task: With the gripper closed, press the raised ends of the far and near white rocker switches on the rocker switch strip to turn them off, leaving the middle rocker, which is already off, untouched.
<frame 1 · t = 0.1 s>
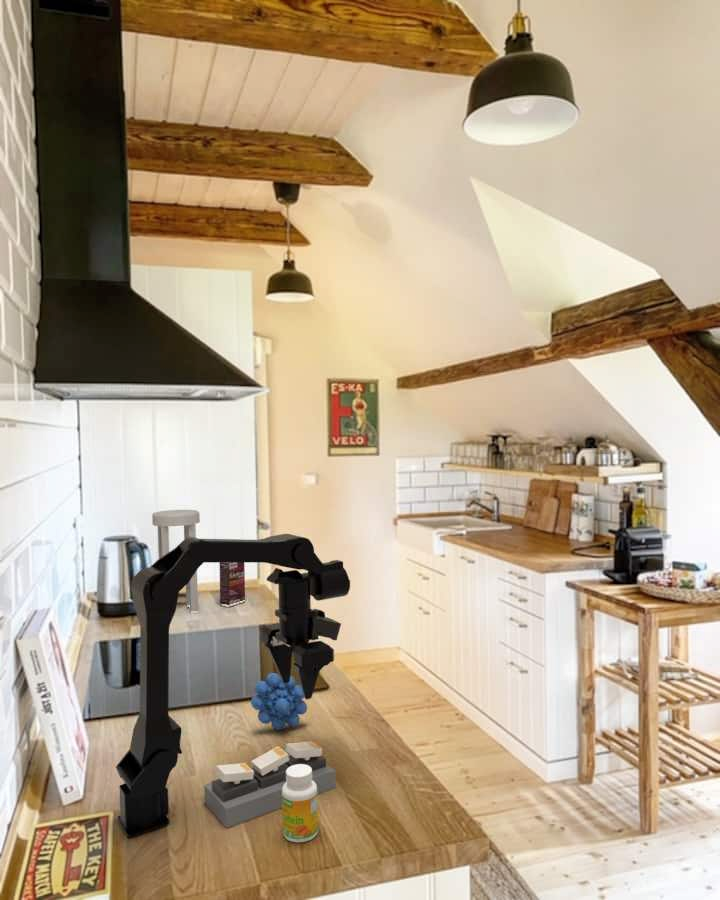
hand: (297, 690, 123), 15 cm above the countertop, tool pointing down, fingers open, 9 cm apart
far rocker: (303, 751, 119), point 6 cm above the countertop, hinge at 12.0°
rocker switch strip: (271, 795, 115), on the countertop
middle rocker: (270, 761, 115), point 6 cm above the countertop, hinge at -12.0°
stool: (179, 612, 238), on the countertop
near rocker: (234, 773, 111), point 6 cm above the countertop, hinge at 12.0°
supplement box: (233, 605, 247), on the countertop
supplement bottle: (300, 834, 104), on the countertop
grapes: (281, 732, 140), on the countertop
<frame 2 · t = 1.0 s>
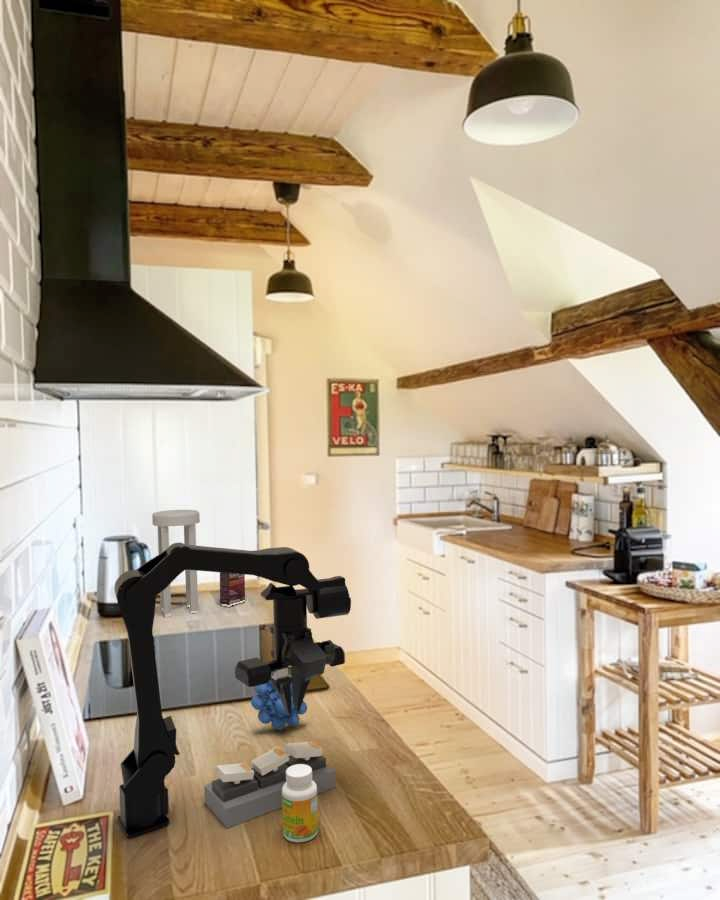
hand: (292, 712, 117), 13 cm above the countertop, tool pointing down, fingers closed
nothing on the countertop moved.
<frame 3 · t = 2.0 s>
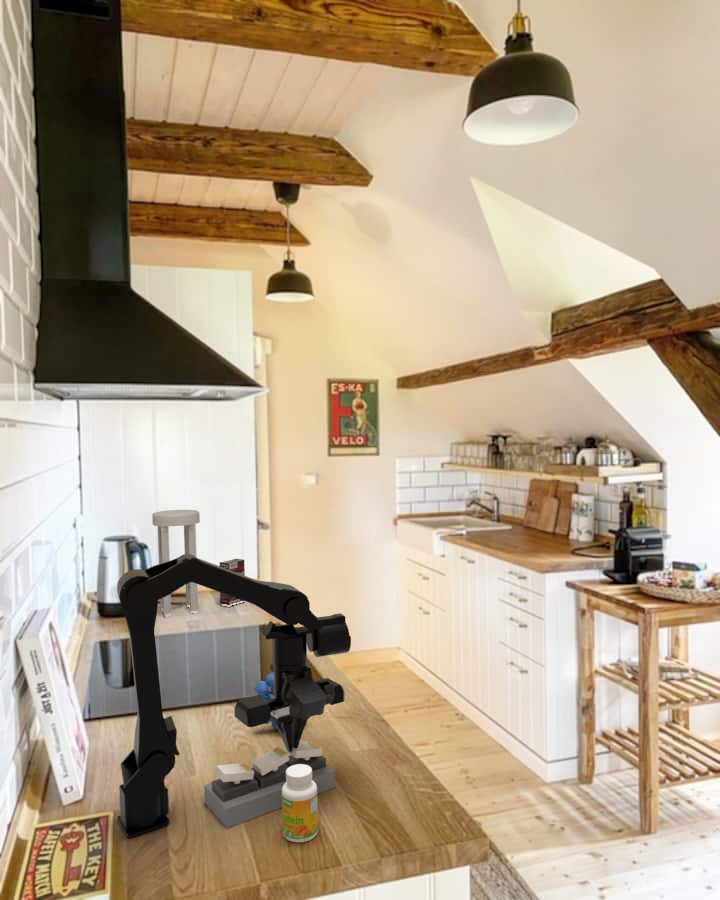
hand: (291, 750, 117), 6 cm above the countertop, tool pointing down, fingers closed
far rocker: (303, 751, 119), point 6 cm above the countertop, hinge at 11.9°, touching gripper
everything else where it was.
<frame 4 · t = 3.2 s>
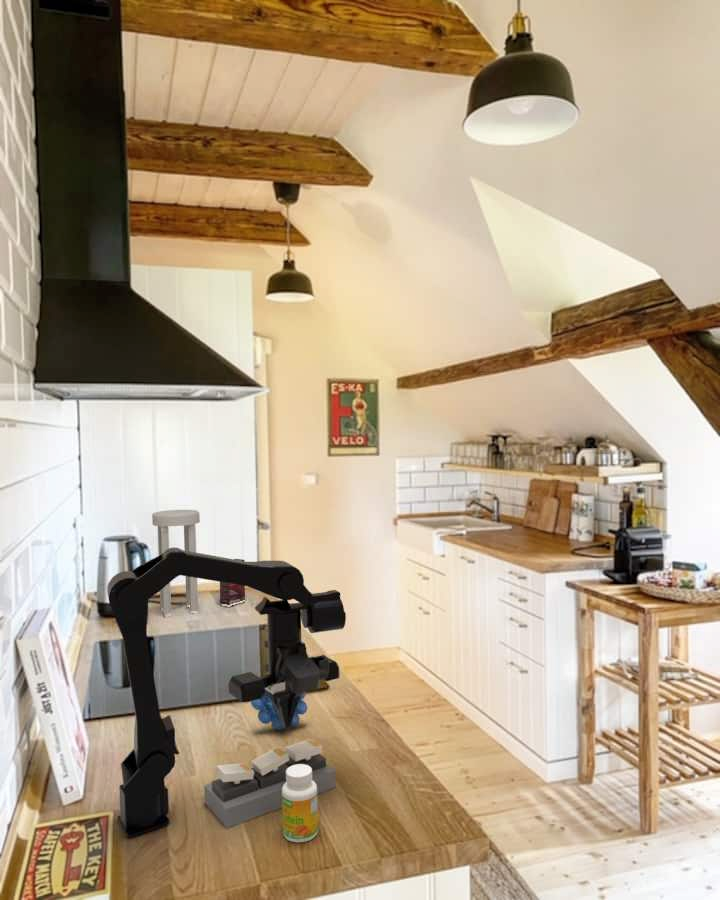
hand: (286, 726, 117), 11 cm above the countertop, tool pointing down, fingers closed
far rocker: (303, 751, 119), point 6 cm above the countertop, hinge at -0.1°
everything else where it was.
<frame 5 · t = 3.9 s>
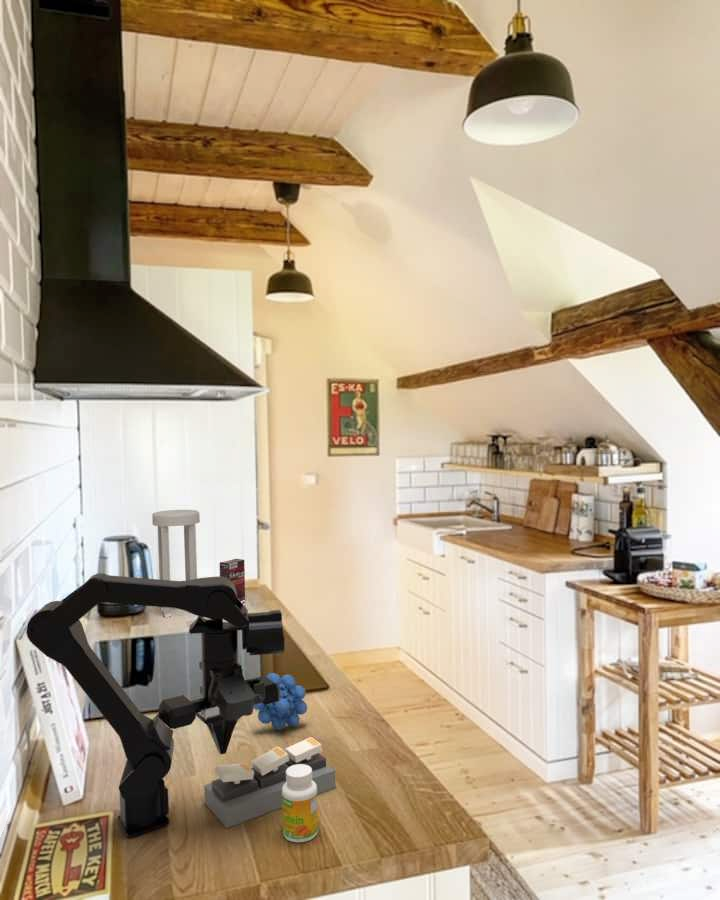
hand: (222, 753, 110), 10 cm above the countertop, tool pointing down, fingers closed
far rocker: (304, 751, 119), point 6 cm above the countertop, hinge at -6.5°
everything else where it was.
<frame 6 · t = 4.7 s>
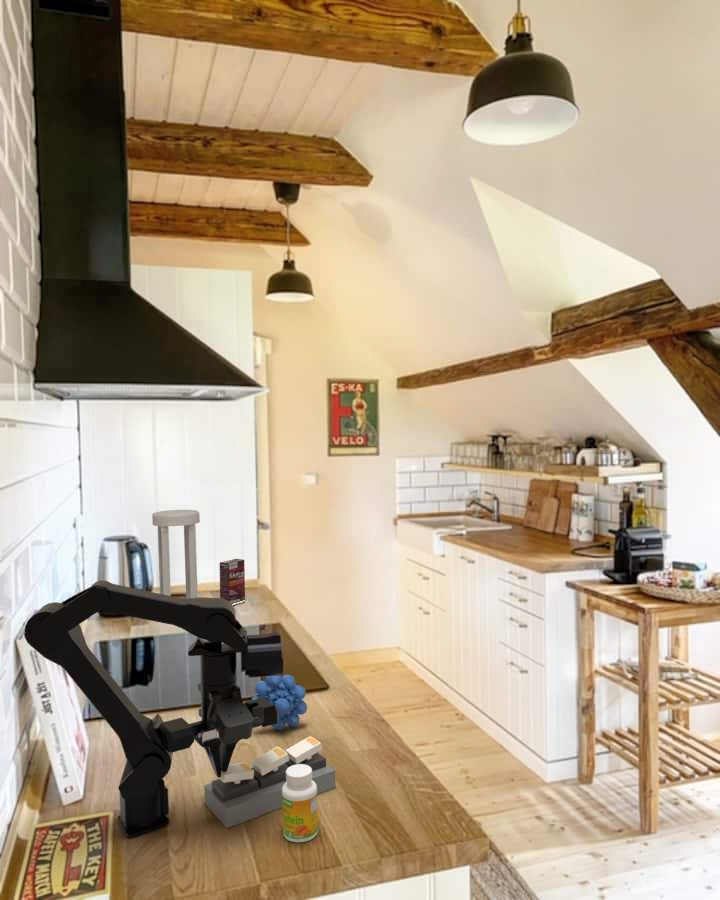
hand: (220, 775, 110), 6 cm above the countertop, tool pointing down, fingers closed, pressing on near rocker
far rocker: (304, 750, 119), point 6 cm above the countertop, hinge at -12.3°
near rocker: (234, 773, 111), point 6 cm above the countertop, hinge at 10.1°, touching gripper
everything else where it was.
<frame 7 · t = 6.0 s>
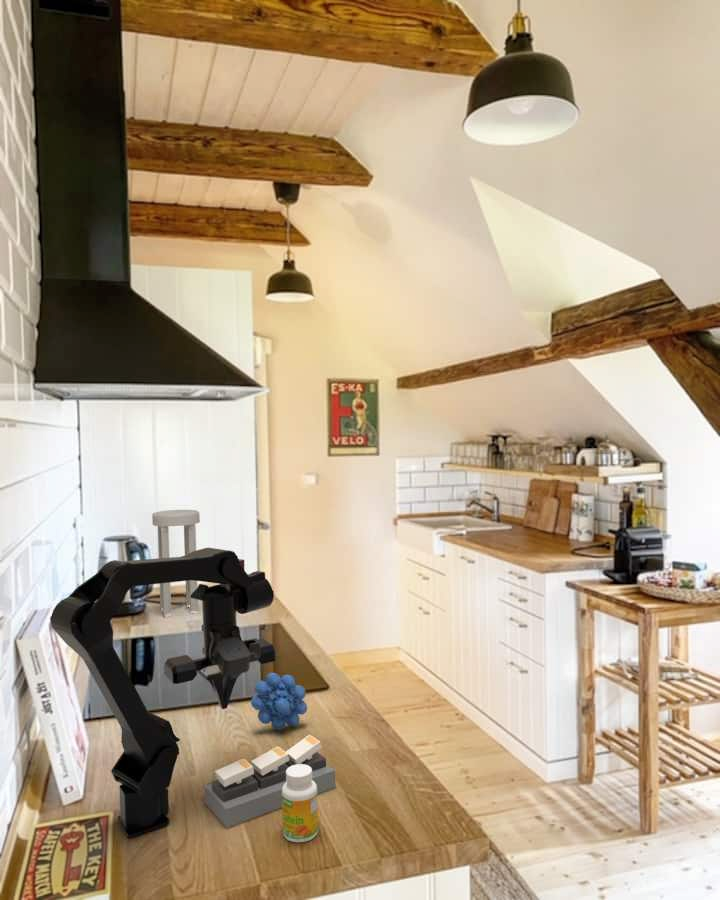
hand: (223, 708, 120), 13 cm above the countertop, tool pointing down, fingers closed
far rocker: (304, 750, 119), point 6 cm above the countertop, hinge at -19.2°
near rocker: (234, 773, 111), point 6 cm above the countertop, hinge at -6.2°
everything else where it was.
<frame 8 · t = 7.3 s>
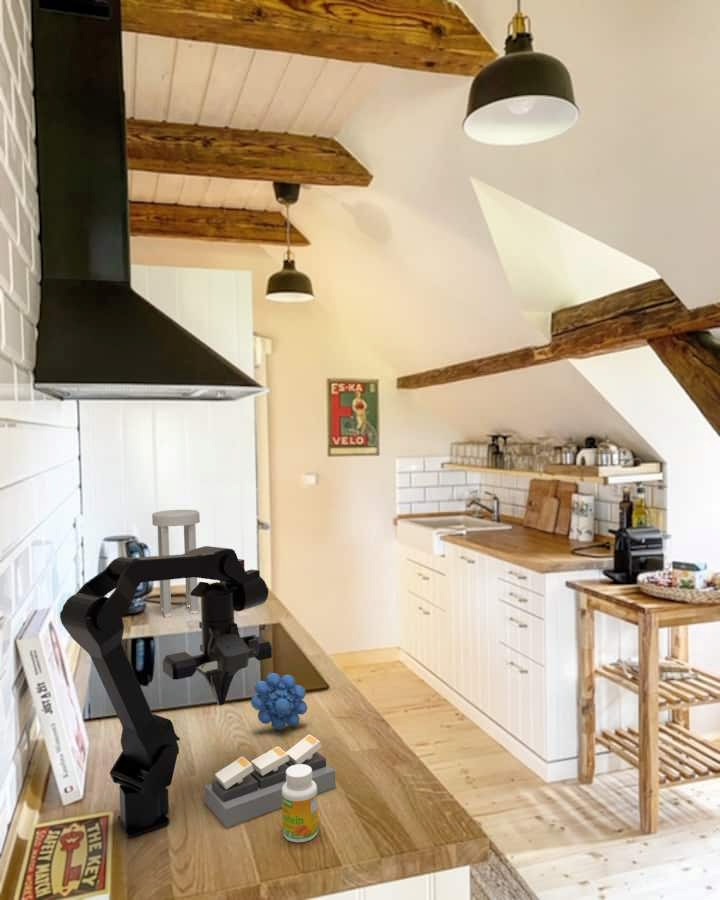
hand: (220, 704, 122), 13 cm above the countertop, tool pointing down, fingers closed
far rocker: (304, 750, 119), point 6 cm above the countertop, hinge at -21.8°, touching rocker switch strip
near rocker: (234, 773, 111), point 6 cm above the countertop, hinge at -17.6°
everything else where it was.
at the end: far rocker at -21° (first picture: +12°); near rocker at -19° (first picture: +12°); middle rocker at -12° (first picture: -12°) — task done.
